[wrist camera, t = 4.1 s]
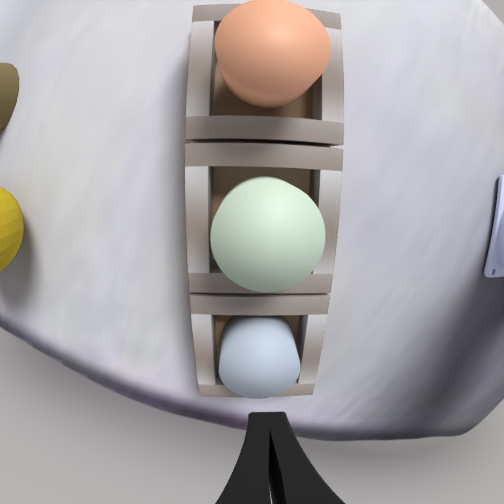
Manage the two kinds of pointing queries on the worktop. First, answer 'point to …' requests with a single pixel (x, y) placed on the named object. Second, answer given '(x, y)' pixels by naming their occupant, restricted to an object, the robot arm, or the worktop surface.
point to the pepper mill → (7, 92)
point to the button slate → (258, 356)
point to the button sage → (267, 234)
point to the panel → (251, 165)
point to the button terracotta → (271, 52)
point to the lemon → (9, 227)
